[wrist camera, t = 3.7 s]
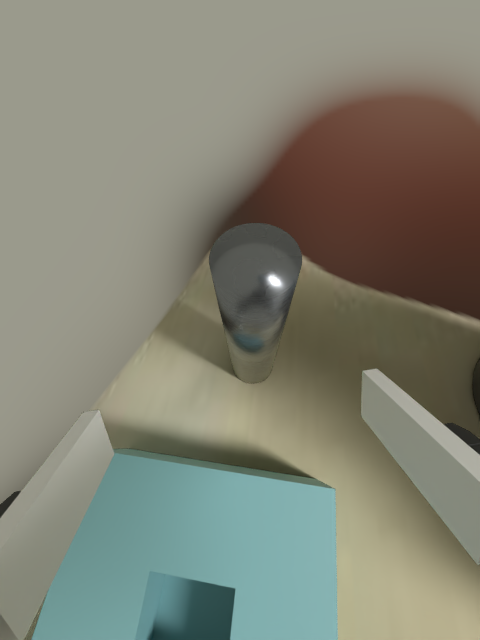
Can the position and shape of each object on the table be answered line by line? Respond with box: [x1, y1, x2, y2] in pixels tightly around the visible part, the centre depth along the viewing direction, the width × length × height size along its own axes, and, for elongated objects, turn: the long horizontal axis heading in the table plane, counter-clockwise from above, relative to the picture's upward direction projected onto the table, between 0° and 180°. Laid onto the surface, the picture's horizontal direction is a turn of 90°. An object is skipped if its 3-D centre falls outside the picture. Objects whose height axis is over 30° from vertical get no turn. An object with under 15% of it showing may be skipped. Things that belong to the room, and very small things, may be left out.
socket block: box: [31, 449, 338, 640], centre depth 18 cm, size 18×18×6 cm
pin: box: [209, 223, 302, 384], centre depth 20 cm, size 4×4×18 cm
